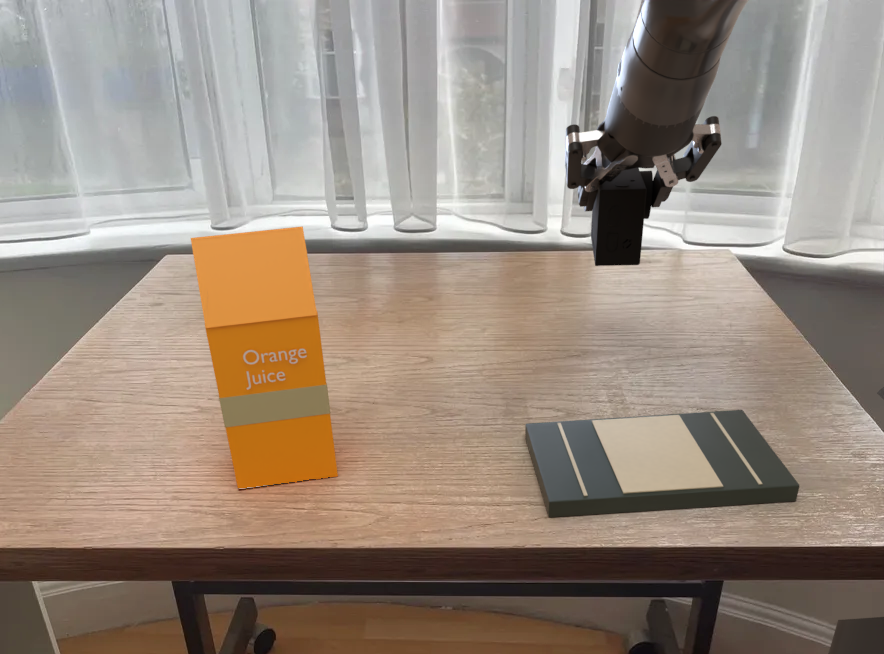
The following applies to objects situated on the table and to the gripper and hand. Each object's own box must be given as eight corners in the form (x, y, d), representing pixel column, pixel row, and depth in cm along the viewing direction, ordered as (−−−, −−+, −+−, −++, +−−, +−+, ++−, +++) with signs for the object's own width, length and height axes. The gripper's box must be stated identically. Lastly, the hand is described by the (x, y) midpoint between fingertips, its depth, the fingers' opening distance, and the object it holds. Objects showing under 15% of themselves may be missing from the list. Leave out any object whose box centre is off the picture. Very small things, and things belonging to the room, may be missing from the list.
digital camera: (652, 266, 86) (660, 187, 82) (595, 266, 87) (599, 189, 82) (643, 235, 94) (649, 163, 90) (590, 236, 95) (595, 164, 91)
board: (739, 424, 83) (742, 408, 82) (796, 501, 72) (800, 484, 71) (525, 437, 83) (525, 422, 82) (548, 517, 72) (549, 500, 71)
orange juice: (234, 450, 83) (189, 225, 71) (328, 438, 85) (300, 214, 73) (237, 491, 77) (188, 252, 65) (339, 477, 79) (309, 239, 66)
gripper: (579, 128, 72) (551, 240, 89) (757, 117, 72) (696, 231, 89) (571, 44, 73) (545, 170, 90) (746, 33, 73) (688, 162, 90)
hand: (620, 200), depth 89 cm, fingers closed on digital camera, 6 cm apart
